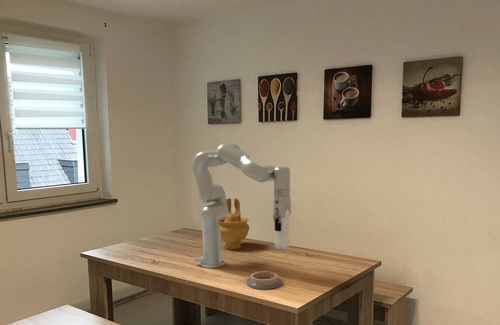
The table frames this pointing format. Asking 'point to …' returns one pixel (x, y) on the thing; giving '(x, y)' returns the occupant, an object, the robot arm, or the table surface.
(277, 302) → the table surface
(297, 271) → the table surface
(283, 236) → the water bottle
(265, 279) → the ring plate
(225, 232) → the decorative bowl
